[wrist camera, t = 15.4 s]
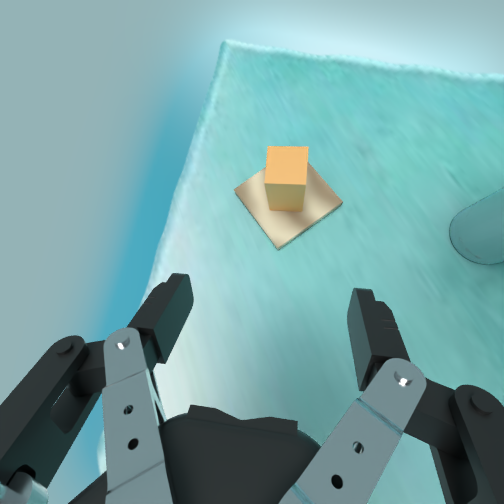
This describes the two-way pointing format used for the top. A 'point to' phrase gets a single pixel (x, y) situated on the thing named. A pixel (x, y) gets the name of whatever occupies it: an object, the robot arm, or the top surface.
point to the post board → (288, 222)
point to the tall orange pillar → (286, 177)
